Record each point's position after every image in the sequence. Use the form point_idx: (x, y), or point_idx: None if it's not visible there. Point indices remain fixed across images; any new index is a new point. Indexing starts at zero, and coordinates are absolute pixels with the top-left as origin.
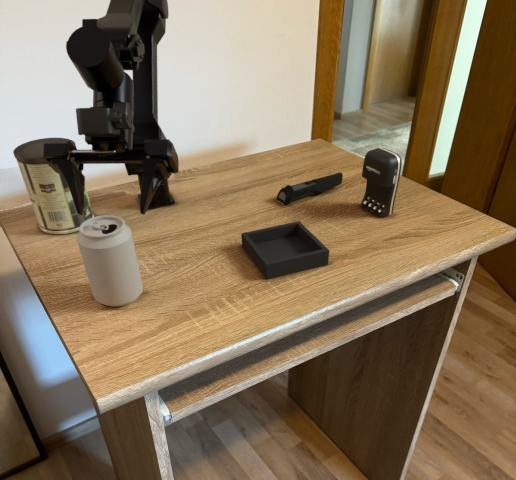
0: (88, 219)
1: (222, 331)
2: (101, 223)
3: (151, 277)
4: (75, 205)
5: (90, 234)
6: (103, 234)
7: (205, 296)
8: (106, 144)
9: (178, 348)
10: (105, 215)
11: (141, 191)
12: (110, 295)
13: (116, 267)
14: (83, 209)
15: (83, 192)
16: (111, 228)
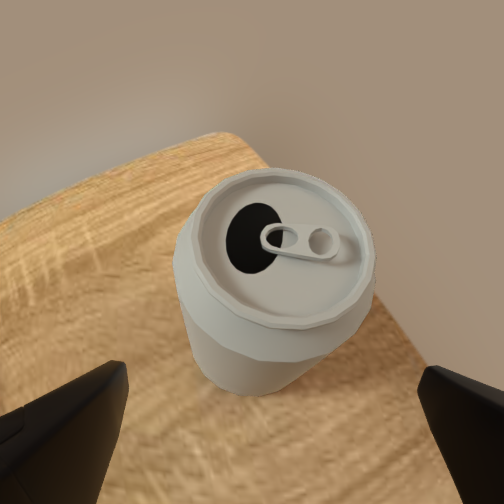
0: (364, 286)
1: (56, 217)
2: (304, 283)
3: (180, 413)
4: (458, 374)
5: (316, 205)
6: (268, 201)
7: (60, 316)
8: None
9: (126, 187)
10: (300, 323)
11: (72, 409)
12: (254, 270)
13: (229, 231)
14: (426, 415)
15: (466, 487)
16: (279, 368)
